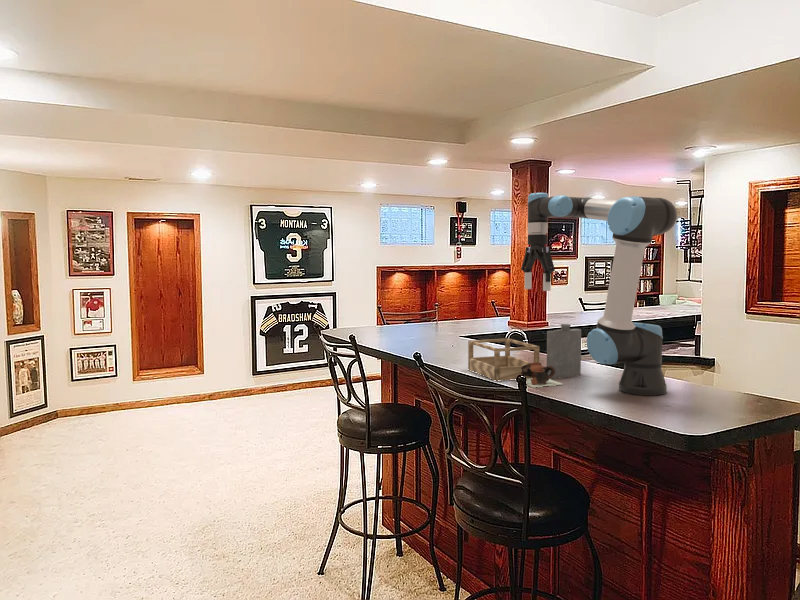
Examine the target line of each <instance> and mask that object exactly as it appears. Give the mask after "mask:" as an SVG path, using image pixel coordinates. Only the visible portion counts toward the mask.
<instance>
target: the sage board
mask: <svg viewBox="0 0 800 600" xmlns="http://www.w3.org/2000/svg"><path fill="white" fill-rule="evenodd" d="M531 379H533V378H531ZM531 379H527V385H526V386H527V387H529V388H533V389H536V387H537V388H544V387H543V386H549V387H557V386H556V385H561V386H563V385H564V384H563V383H562V382H559V381H556V380H553V379H549V380H548V381H547V382H546V383H547V384H536V385H532V382H531Z"/></svg>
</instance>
